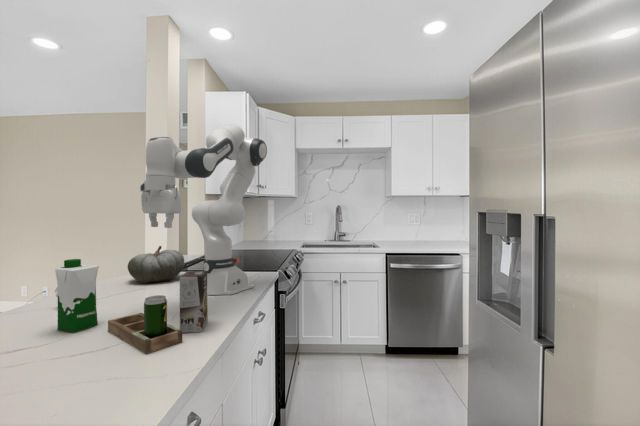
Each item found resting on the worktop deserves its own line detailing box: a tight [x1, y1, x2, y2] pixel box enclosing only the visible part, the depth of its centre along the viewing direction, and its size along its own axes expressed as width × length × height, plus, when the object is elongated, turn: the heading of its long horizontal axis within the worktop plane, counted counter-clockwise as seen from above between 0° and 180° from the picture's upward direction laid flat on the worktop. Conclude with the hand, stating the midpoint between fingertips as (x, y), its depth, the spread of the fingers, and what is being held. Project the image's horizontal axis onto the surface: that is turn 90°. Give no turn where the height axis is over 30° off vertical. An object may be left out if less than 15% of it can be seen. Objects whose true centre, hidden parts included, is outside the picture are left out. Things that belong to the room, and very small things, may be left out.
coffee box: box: [179, 270, 209, 334], centre depth 97 cm, size 9×6×16 cm
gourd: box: [127, 245, 185, 284], centre depth 161 cm, size 25×25×17 cm
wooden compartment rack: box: [107, 312, 183, 355], centre depth 90 cm, size 9×24×3 cm, turn 52°
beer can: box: [143, 294, 168, 339], centre depth 85 cm, size 5×5×12 cm
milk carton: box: [54, 258, 100, 334], centre depth 97 cm, size 9×9×20 cm
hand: (161, 227), depth 108 cm, fingers open, 8 cm apart
